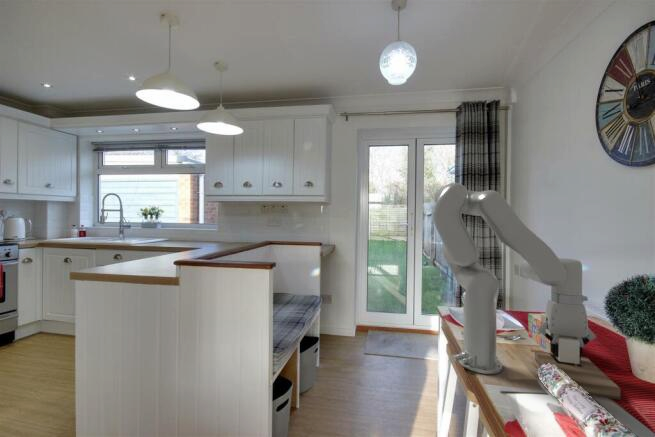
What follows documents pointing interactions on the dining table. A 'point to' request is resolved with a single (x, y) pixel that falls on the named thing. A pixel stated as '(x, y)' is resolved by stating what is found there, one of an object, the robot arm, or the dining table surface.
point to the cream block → (568, 349)
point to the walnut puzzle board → (583, 375)
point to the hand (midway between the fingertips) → (565, 356)
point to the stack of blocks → (533, 332)
